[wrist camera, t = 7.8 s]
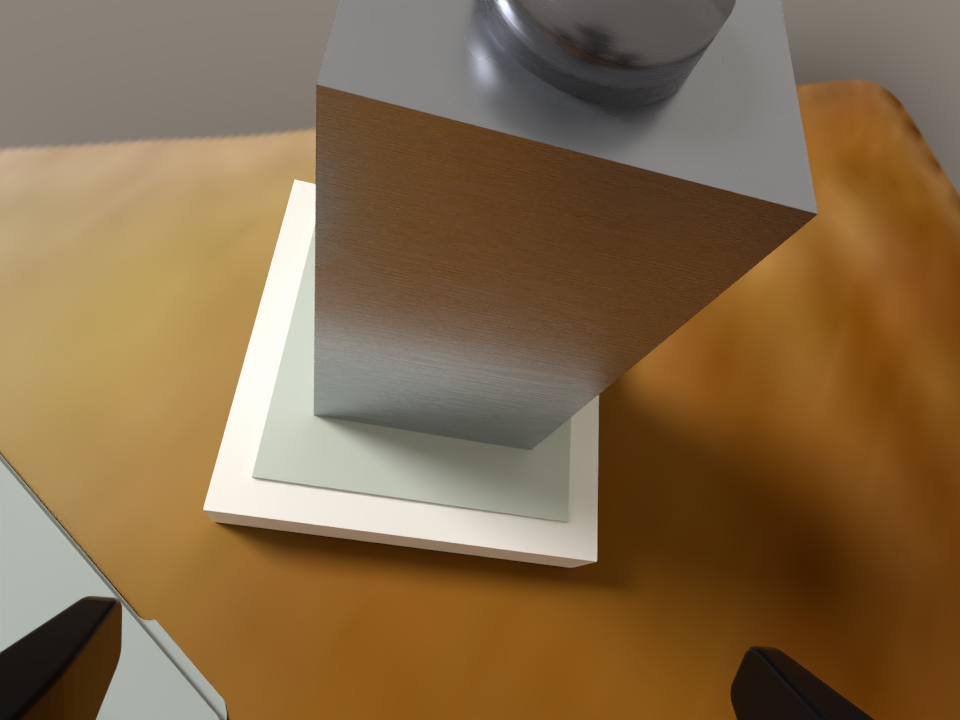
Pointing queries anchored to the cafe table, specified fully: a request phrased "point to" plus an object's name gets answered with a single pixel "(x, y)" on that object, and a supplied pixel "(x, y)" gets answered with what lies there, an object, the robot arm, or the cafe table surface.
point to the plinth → (386, 451)
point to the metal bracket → (70, 577)
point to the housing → (537, 198)
